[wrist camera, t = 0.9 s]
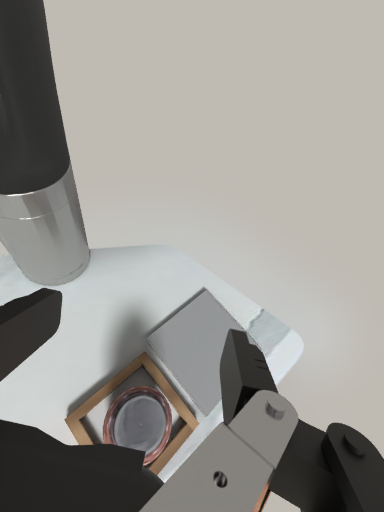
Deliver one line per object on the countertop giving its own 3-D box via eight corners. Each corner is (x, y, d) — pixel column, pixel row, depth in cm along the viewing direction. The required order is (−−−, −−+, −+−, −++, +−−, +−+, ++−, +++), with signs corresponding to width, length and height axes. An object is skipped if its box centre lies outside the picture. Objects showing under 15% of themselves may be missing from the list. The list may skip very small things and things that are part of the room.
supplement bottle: (168, 433, 28) (192, 444, 18) (118, 468, 25) (115, 501, 16) (148, 382, 30) (160, 368, 21) (100, 409, 27) (89, 407, 18)
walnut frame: (66, 419, 26) (64, 419, 25) (144, 353, 31) (144, 351, 30) (122, 513, 23) (122, 518, 22) (196, 423, 29) (199, 423, 28)
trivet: (145, 339, 32) (146, 338, 32) (205, 291, 39) (206, 289, 38) (205, 416, 29) (206, 416, 29) (259, 350, 36) (261, 349, 35)
